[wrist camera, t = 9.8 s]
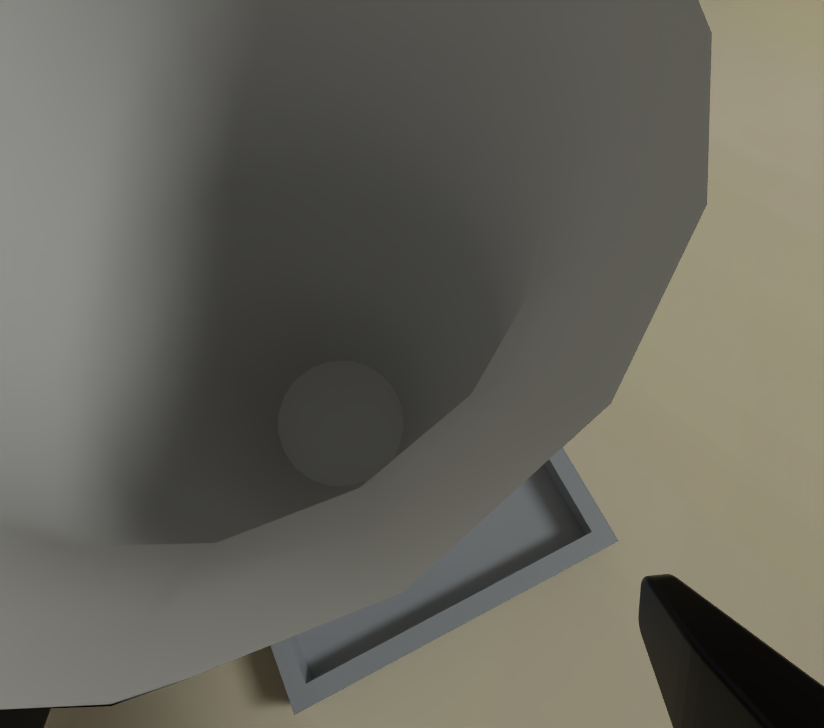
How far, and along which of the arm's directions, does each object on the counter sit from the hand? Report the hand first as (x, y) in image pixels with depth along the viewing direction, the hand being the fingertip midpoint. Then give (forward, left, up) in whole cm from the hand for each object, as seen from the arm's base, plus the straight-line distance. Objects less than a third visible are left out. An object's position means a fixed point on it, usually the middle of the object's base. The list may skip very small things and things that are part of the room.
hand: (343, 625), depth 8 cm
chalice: (+3, -1, -11) cm, 12 cm away
